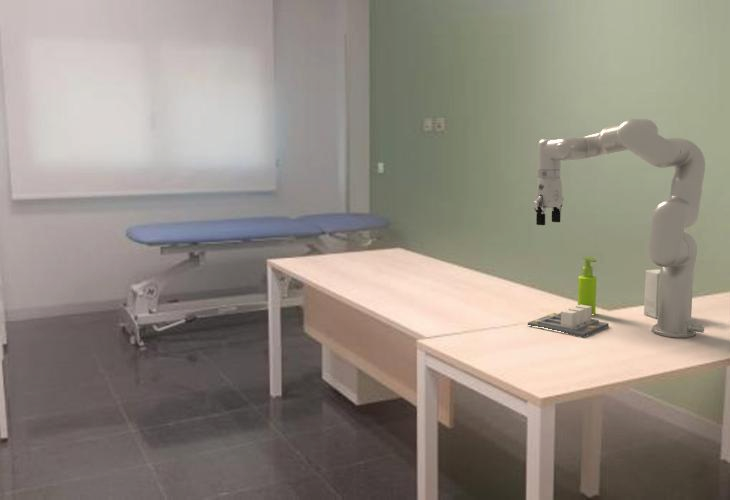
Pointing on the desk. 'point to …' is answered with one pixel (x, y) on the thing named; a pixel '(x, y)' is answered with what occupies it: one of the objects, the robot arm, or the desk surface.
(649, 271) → the skincare box
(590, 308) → the tab
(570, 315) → the tab
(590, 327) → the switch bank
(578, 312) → the tab
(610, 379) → the desk surface
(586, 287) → the soap dispenser
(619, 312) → the desk surface
